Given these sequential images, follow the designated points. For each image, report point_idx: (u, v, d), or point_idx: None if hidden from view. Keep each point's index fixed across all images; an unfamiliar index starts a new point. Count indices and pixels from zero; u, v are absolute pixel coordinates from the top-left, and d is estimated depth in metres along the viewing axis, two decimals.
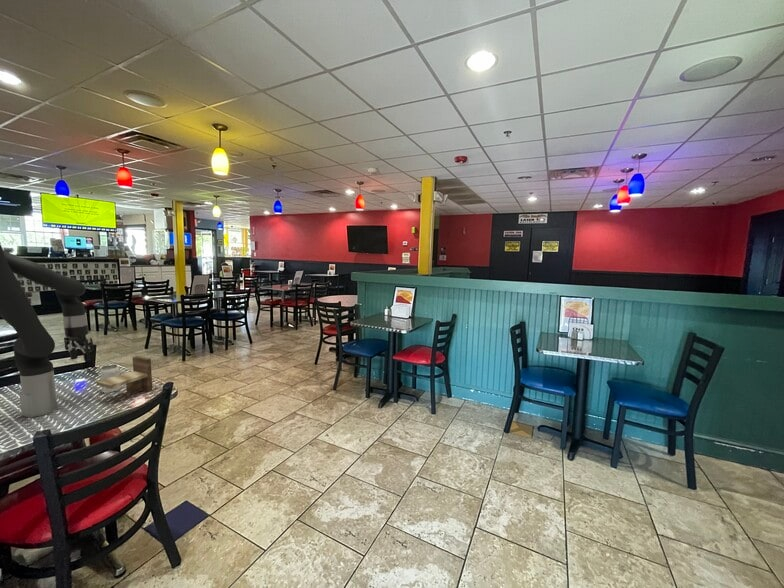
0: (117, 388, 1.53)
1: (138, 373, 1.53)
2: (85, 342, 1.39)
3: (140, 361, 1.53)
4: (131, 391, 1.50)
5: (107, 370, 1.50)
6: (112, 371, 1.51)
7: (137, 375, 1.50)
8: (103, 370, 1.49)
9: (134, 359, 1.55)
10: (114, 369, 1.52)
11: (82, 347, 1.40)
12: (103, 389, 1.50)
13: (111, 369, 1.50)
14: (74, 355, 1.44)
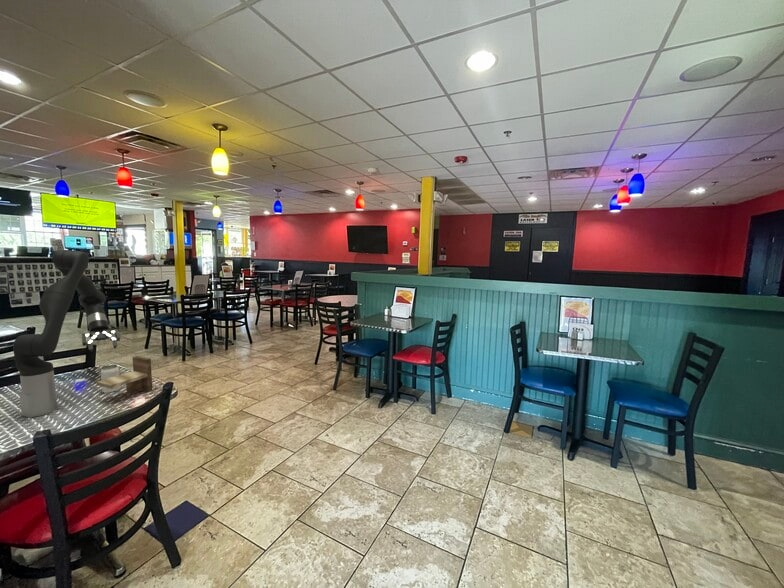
0: (117, 388, 1.53)
1: (138, 373, 1.53)
2: (117, 331, 1.66)
3: (140, 361, 1.53)
4: (131, 391, 1.50)
5: (107, 370, 1.50)
6: (112, 371, 1.51)
7: (137, 375, 1.50)
8: (103, 370, 1.49)
9: (134, 359, 1.55)
10: (114, 369, 1.52)
11: None
12: (103, 389, 1.50)
13: (111, 369, 1.50)
14: (92, 347, 1.56)
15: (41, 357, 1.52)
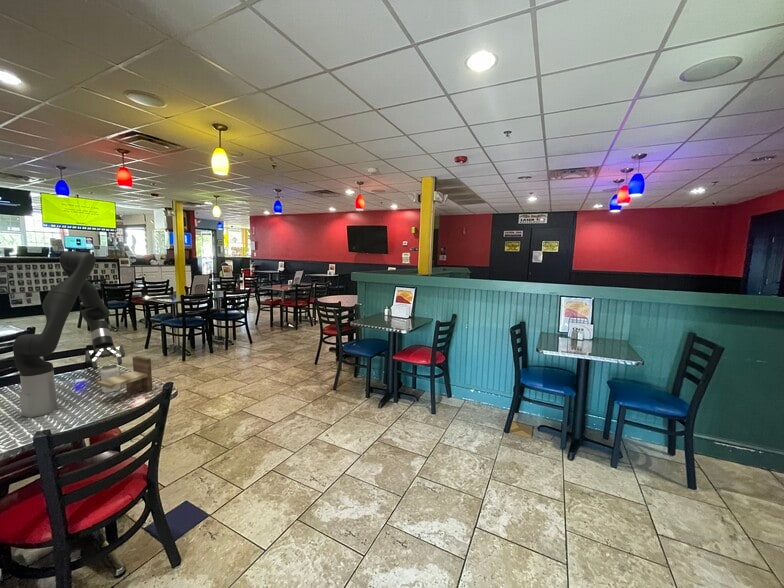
0: (117, 388, 1.53)
1: (138, 373, 1.53)
2: (121, 347, 1.61)
3: (140, 361, 1.53)
4: (131, 391, 1.50)
5: (107, 370, 1.50)
6: (112, 371, 1.51)
7: (137, 375, 1.50)
8: (103, 370, 1.49)
9: (134, 359, 1.55)
10: (114, 369, 1.52)
11: None
12: (103, 389, 1.50)
13: (111, 369, 1.50)
14: (96, 365, 1.51)
15: (41, 357, 1.52)
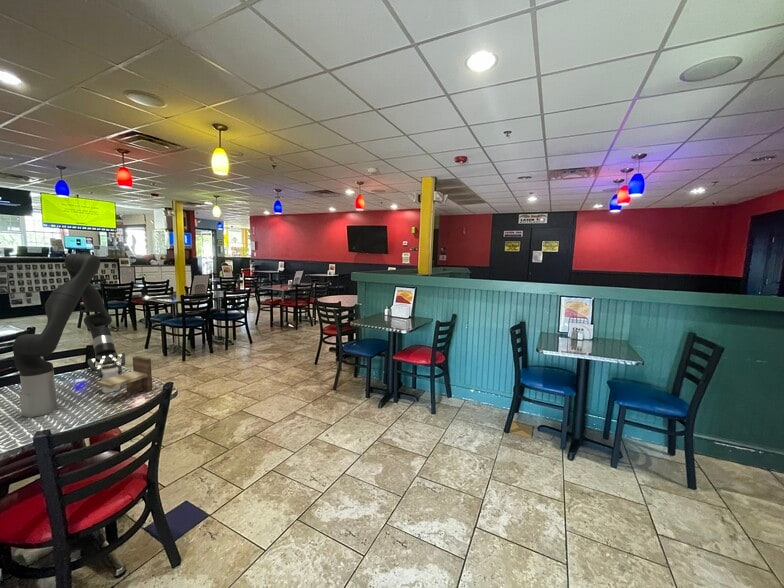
0: (117, 388, 1.53)
1: (138, 373, 1.53)
2: (123, 355, 1.59)
3: (140, 361, 1.53)
4: (131, 391, 1.50)
5: (107, 370, 1.50)
6: (112, 371, 1.51)
7: (137, 375, 1.50)
8: (103, 370, 1.49)
9: (134, 359, 1.55)
10: (114, 369, 1.52)
11: None
12: (103, 389, 1.50)
13: (111, 369, 1.50)
14: (101, 373, 1.50)
15: (41, 357, 1.52)
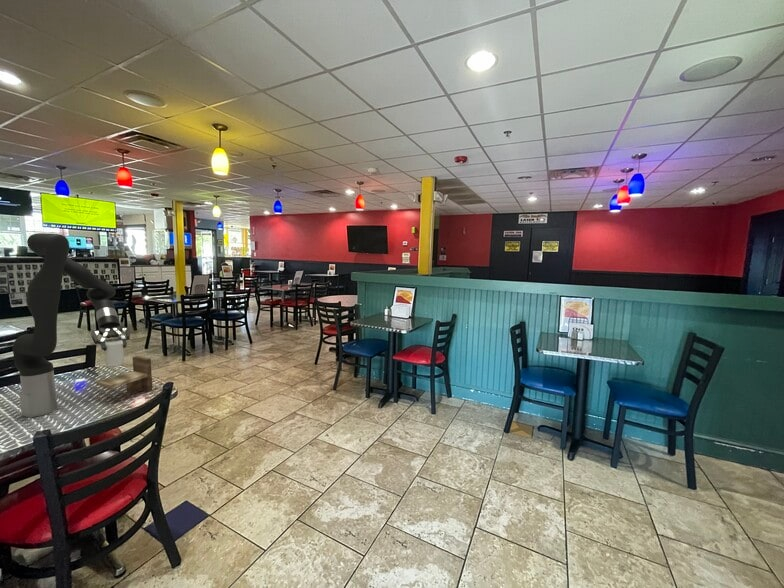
0: (121, 362, 1.45)
1: (138, 373, 1.53)
2: (128, 329, 1.51)
3: (140, 361, 1.53)
4: (131, 391, 1.50)
5: (111, 343, 1.42)
6: (116, 344, 1.43)
7: (137, 375, 1.50)
8: (107, 342, 1.42)
9: (134, 359, 1.55)
10: (119, 342, 1.44)
11: None
12: (106, 363, 1.42)
13: (115, 342, 1.43)
14: (105, 346, 1.42)
15: None
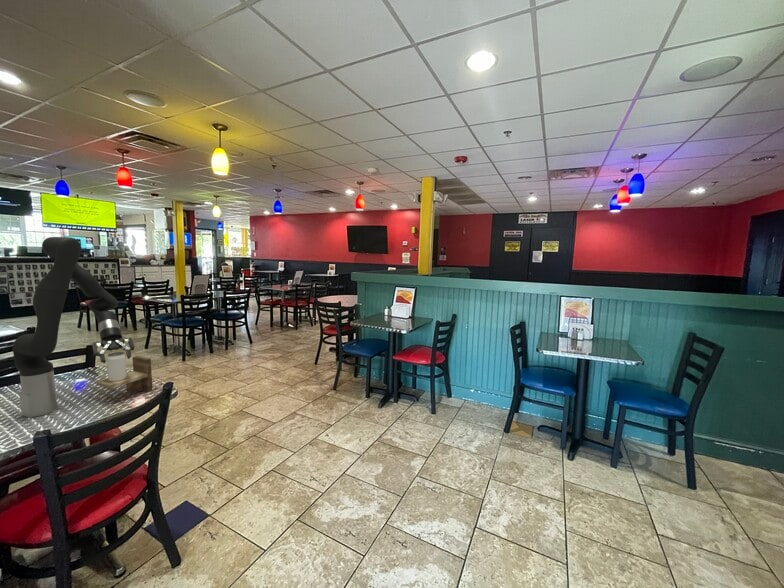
0: (124, 376, 1.45)
1: (138, 373, 1.53)
2: (130, 340, 1.51)
3: (140, 361, 1.53)
4: (131, 391, 1.50)
5: (113, 357, 1.41)
6: (118, 358, 1.42)
7: (137, 375, 1.50)
8: (109, 357, 1.41)
9: (134, 359, 1.55)
10: (121, 356, 1.43)
11: None
12: (109, 377, 1.42)
13: (117, 356, 1.42)
14: (104, 358, 1.41)
15: None
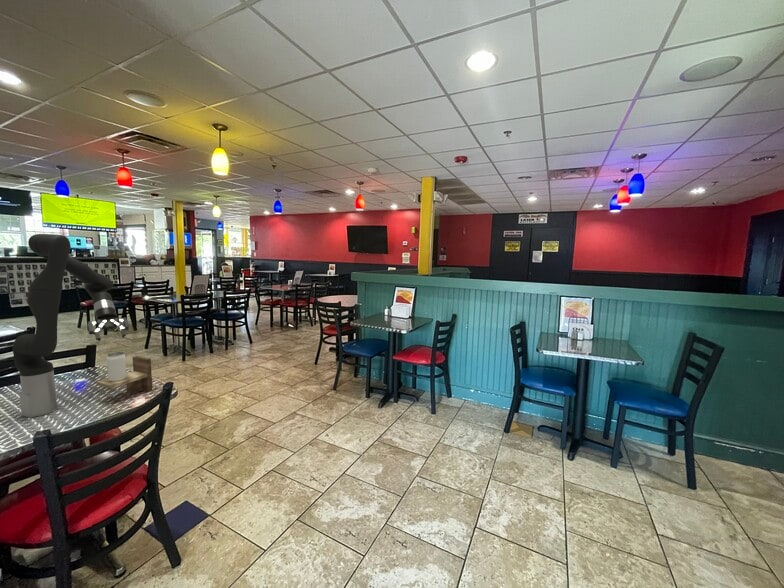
0: (124, 376, 1.45)
1: (138, 373, 1.53)
2: (125, 320, 1.55)
3: (140, 361, 1.53)
4: (131, 391, 1.50)
5: (113, 357, 1.41)
6: (118, 358, 1.42)
7: (137, 375, 1.50)
8: (109, 357, 1.41)
9: (134, 359, 1.55)
10: (121, 356, 1.43)
11: None
12: (109, 377, 1.42)
13: (117, 356, 1.42)
14: (99, 336, 1.45)
15: None
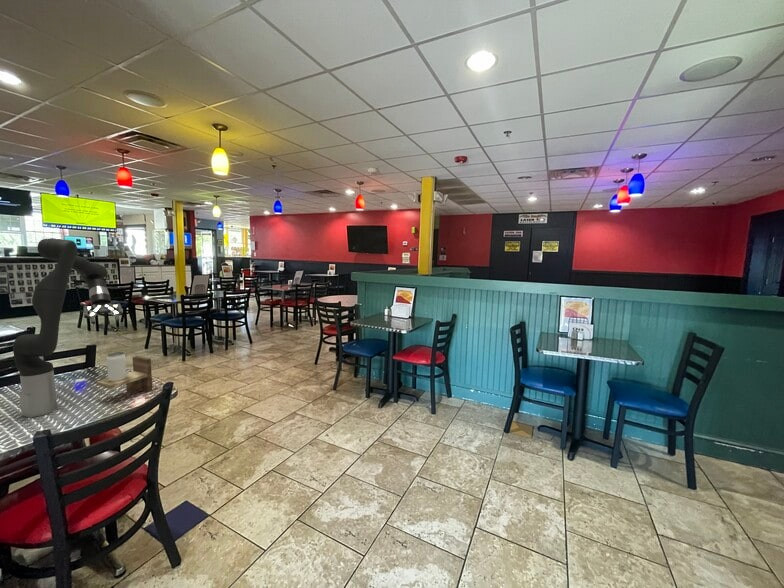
0: (124, 376, 1.45)
1: (138, 373, 1.53)
2: (119, 305, 1.63)
3: (140, 361, 1.53)
4: (131, 391, 1.50)
5: (113, 357, 1.41)
6: (118, 358, 1.42)
7: (137, 375, 1.50)
8: (109, 357, 1.41)
9: (134, 359, 1.55)
10: (121, 356, 1.43)
11: None
12: (109, 378, 1.42)
13: (117, 356, 1.42)
14: (94, 320, 1.53)
15: (41, 357, 1.52)
